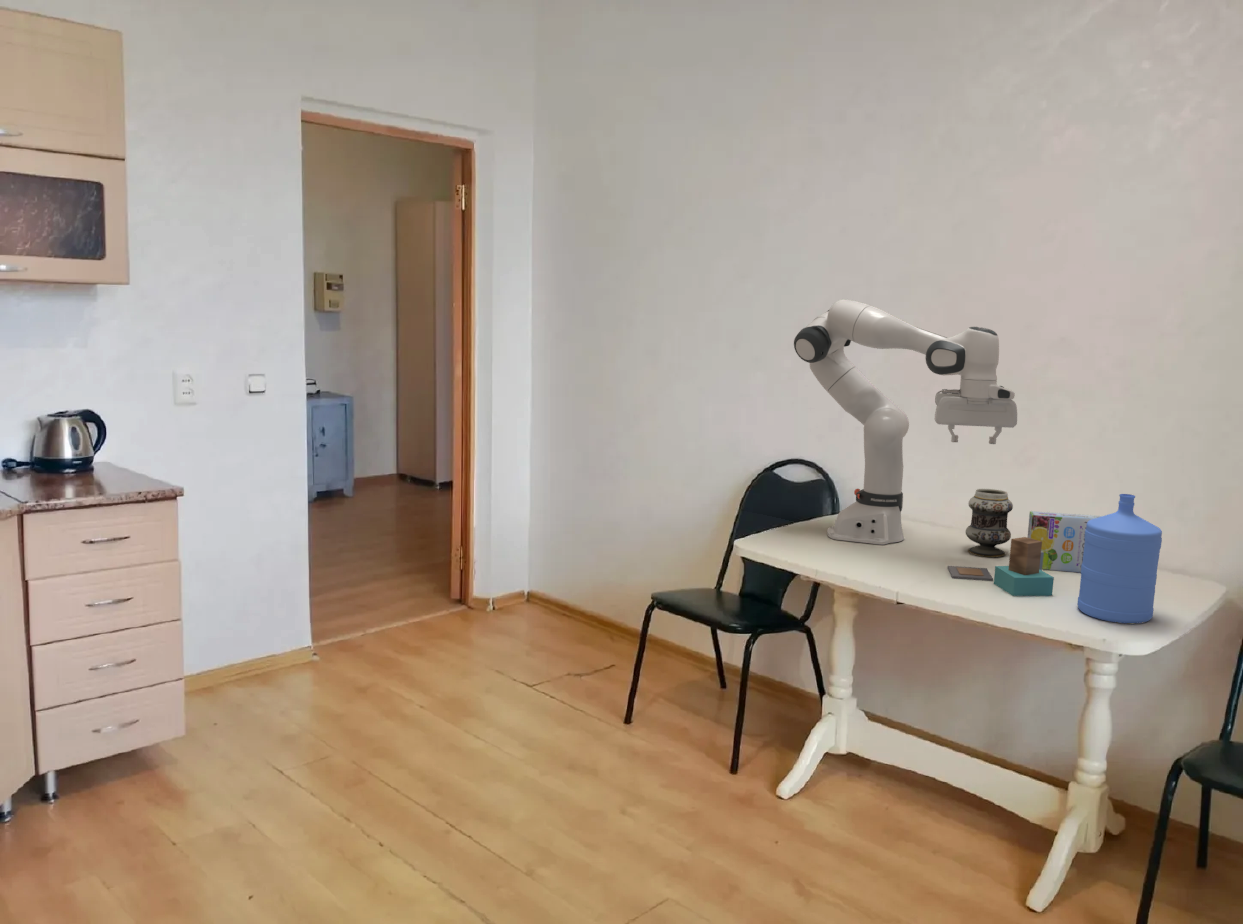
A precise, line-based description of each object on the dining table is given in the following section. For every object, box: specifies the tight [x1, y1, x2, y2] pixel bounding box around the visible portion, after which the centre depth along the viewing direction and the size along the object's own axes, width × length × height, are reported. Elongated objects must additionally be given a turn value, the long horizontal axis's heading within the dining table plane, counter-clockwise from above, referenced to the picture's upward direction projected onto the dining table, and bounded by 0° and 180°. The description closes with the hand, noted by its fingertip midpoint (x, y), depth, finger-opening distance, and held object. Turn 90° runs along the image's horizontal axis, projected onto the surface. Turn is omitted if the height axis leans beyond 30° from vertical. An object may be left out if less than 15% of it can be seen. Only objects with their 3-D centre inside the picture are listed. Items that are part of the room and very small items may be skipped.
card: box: [947, 565, 994, 582], centre depth 252 cm, size 10×10×1 cm
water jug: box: [1076, 493, 1163, 624], centre depth 220 cm, size 16×16×28 cm
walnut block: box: [1008, 536, 1042, 575], centre depth 238 cm, size 5×5×8 cm
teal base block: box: [993, 565, 1055, 597], centre depth 239 cm, size 10×10×5 cm
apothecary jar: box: [965, 488, 1014, 558], centre depth 272 cm, size 12×12×18 cm
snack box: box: [1026, 510, 1103, 574], centre depth 257 cm, size 21×6×15 cm, turn 74°
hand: (973, 442), depth 252 cm, fingers open, 8 cm apart
